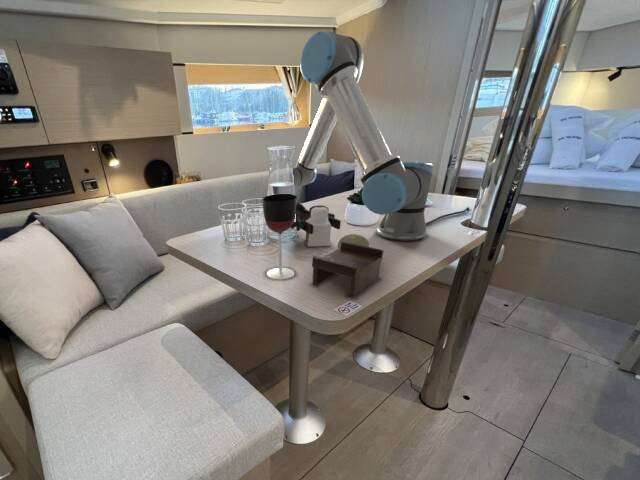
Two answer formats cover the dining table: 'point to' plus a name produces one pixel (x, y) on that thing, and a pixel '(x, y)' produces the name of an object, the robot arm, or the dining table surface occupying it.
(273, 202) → the wineglass
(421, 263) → the dining table surface
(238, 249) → the dining table surface
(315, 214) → the medicine bottle
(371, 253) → the stand
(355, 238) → the sea urchin shell
